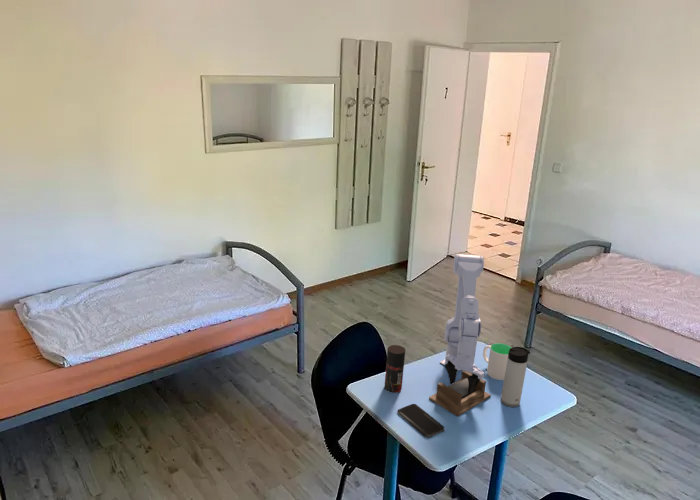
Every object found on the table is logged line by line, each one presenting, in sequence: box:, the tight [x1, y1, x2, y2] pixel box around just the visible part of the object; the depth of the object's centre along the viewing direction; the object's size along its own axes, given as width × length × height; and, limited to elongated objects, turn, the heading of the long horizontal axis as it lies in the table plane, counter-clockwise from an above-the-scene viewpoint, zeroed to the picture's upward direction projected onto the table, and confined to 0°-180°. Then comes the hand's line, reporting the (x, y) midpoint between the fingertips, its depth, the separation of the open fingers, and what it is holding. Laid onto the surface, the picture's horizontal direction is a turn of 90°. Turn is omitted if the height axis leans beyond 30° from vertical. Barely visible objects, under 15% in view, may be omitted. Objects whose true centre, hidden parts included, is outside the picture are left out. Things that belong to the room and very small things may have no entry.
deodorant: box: [384, 344, 406, 394], centre depth 188 cm, size 6×6×15 cm
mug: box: [482, 342, 512, 381], centre depth 203 cm, size 12×8×10 cm, turn 36°
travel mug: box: [500, 346, 531, 408], centre depth 183 cm, size 6×7×20 cm
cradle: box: [428, 370, 491, 417], centre depth 186 cm, size 18×12×6 cm, turn 132°
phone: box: [396, 403, 445, 438], centre depth 174 cm, size 8×1×15 cm
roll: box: [450, 378, 475, 398], centre depth 186 cm, size 9×5×5 cm, turn 132°
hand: (461, 387), depth 186 cm, fingers open, 7 cm apart
